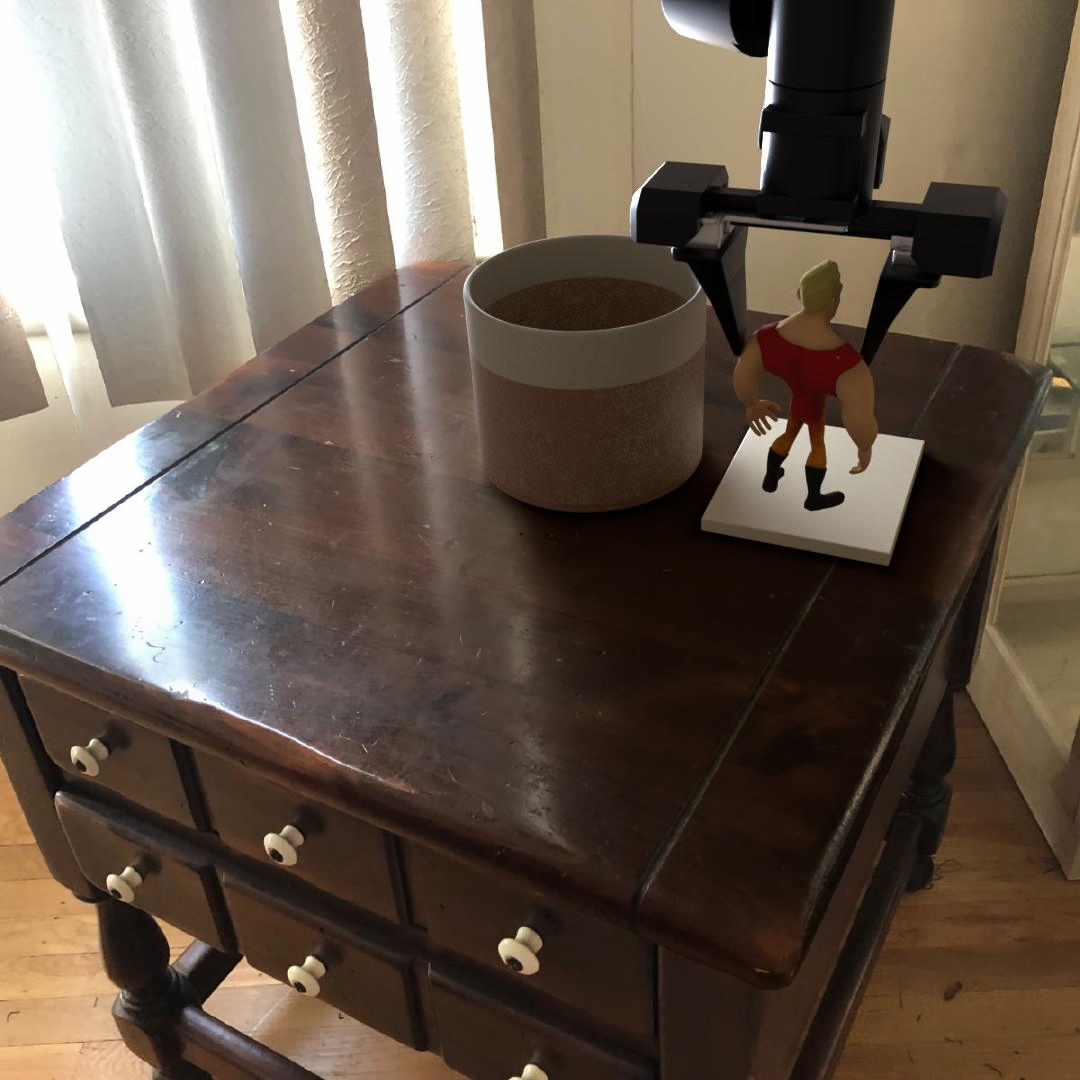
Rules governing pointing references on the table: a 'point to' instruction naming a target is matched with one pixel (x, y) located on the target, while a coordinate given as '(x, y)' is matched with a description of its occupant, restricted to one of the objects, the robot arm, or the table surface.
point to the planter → (587, 371)
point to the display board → (840, 531)
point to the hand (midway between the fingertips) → (801, 361)
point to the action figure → (809, 383)
